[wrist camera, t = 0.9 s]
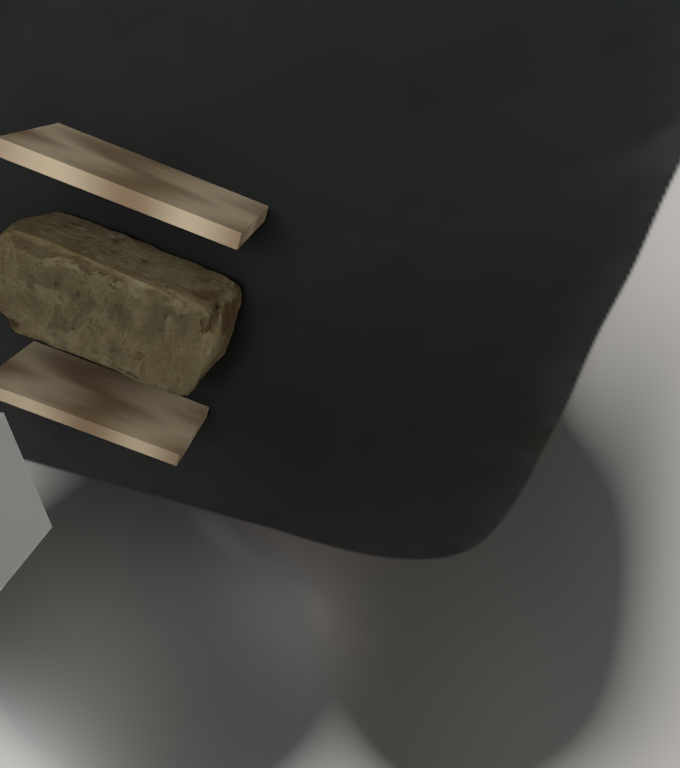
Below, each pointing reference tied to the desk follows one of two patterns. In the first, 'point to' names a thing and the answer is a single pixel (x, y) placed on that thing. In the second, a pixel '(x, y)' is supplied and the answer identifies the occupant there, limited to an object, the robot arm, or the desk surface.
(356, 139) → the desk surface
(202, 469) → the desk surface
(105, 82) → the desk surface
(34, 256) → the stone block
